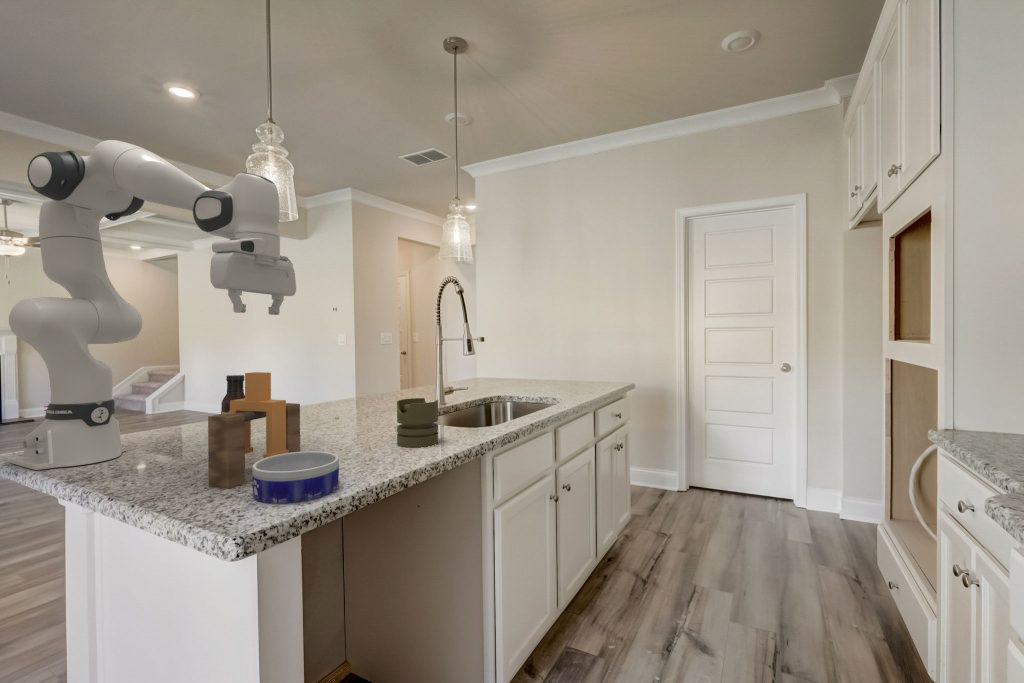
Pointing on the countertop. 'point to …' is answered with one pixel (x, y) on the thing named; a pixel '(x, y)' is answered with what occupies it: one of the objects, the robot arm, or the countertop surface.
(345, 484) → the countertop surface
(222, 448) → the crossbar stand
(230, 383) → the sauce bottle
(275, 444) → the orange stepped block
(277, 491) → the dog bowl
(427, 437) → the piston
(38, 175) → the robot arm
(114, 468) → the countertop surface
